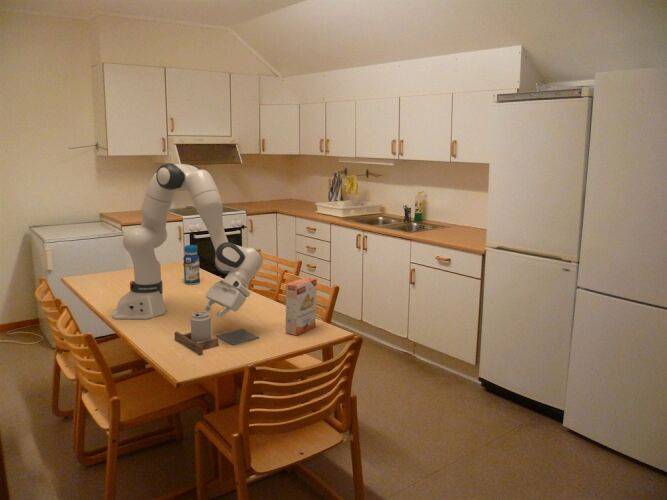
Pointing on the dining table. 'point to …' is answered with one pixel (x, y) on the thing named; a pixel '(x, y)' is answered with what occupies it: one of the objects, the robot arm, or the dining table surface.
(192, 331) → the can
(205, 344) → the walnut cradle
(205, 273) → the dining table surface
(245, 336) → the slate mat
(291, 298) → the cracker box
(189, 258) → the beverage bottle
